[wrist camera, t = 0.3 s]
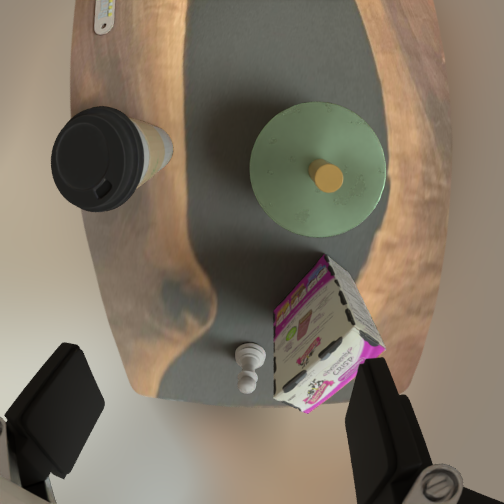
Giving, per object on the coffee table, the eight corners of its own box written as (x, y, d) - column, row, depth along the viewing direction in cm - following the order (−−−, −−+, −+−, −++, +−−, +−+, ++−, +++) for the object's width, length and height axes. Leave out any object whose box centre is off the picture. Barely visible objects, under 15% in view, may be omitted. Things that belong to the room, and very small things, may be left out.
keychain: (111, 30, 29) (93, 36, 29) (113, 31, 29) (95, 37, 30) (115, -28, 25) (97, -21, 25) (117, -27, 25) (99, -20, 26)
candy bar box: (299, 328, 44) (307, 416, 28) (272, 310, 43) (269, 399, 28) (352, 272, 40) (389, 350, 25) (325, 251, 39) (352, 326, 24)
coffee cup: (167, 197, 38) (111, 236, 24) (108, 166, 37) (35, 190, 23) (200, 130, 34) (153, 130, 21) (136, 100, 33) (65, 91, 19)
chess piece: (230, 358, 47) (223, 395, 39) (242, 337, 45) (236, 374, 38) (258, 368, 47) (255, 405, 40) (270, 348, 45) (269, 385, 38)
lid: (306, 76, 26) (313, 62, 20) (406, 163, 28) (432, 171, 23) (223, 181, 31) (211, 192, 25) (326, 258, 33) (335, 284, 27)
